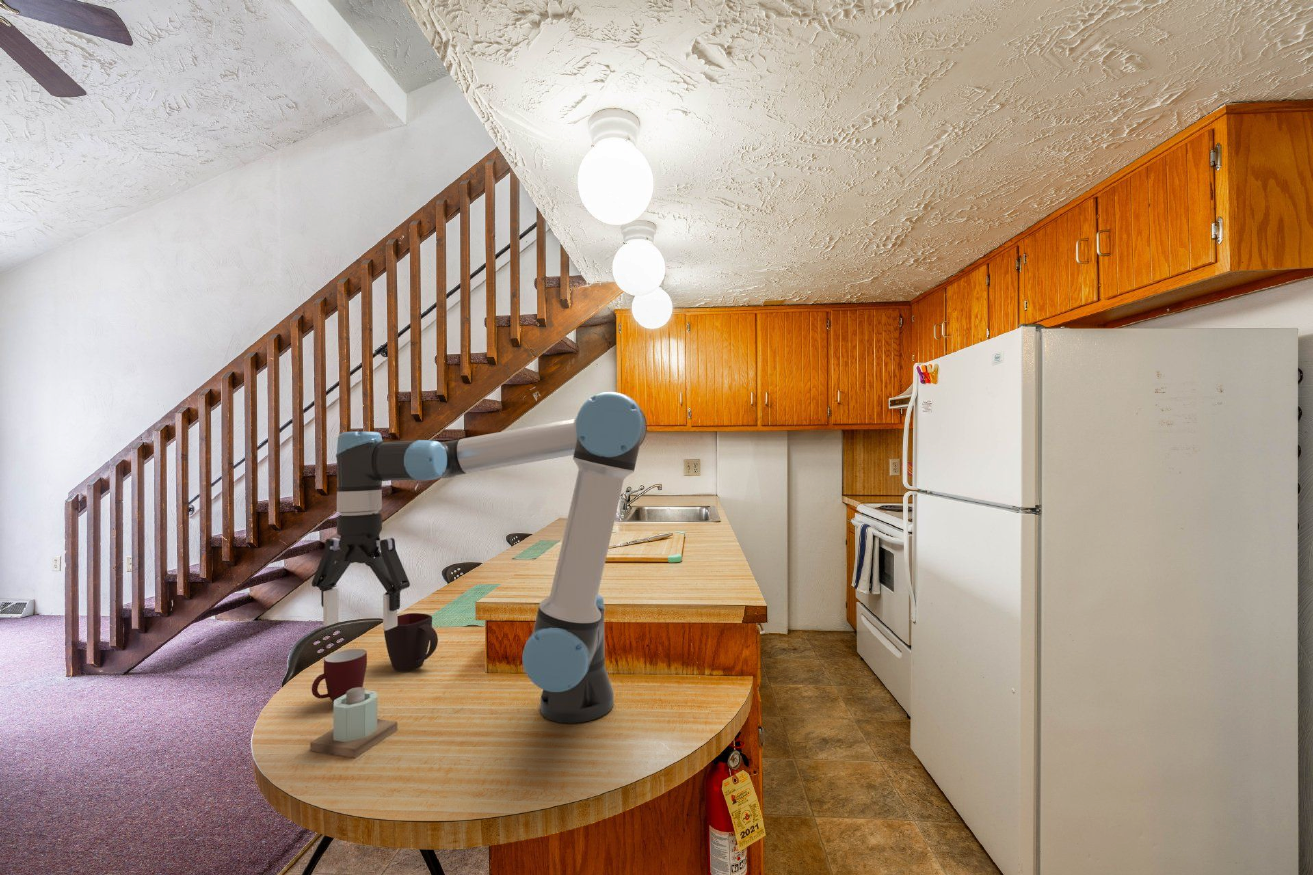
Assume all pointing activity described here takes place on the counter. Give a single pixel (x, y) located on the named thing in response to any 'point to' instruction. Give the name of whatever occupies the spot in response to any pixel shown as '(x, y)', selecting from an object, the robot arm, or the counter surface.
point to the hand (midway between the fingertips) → (360, 626)
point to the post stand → (356, 746)
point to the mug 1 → (342, 673)
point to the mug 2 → (410, 641)
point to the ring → (355, 718)
